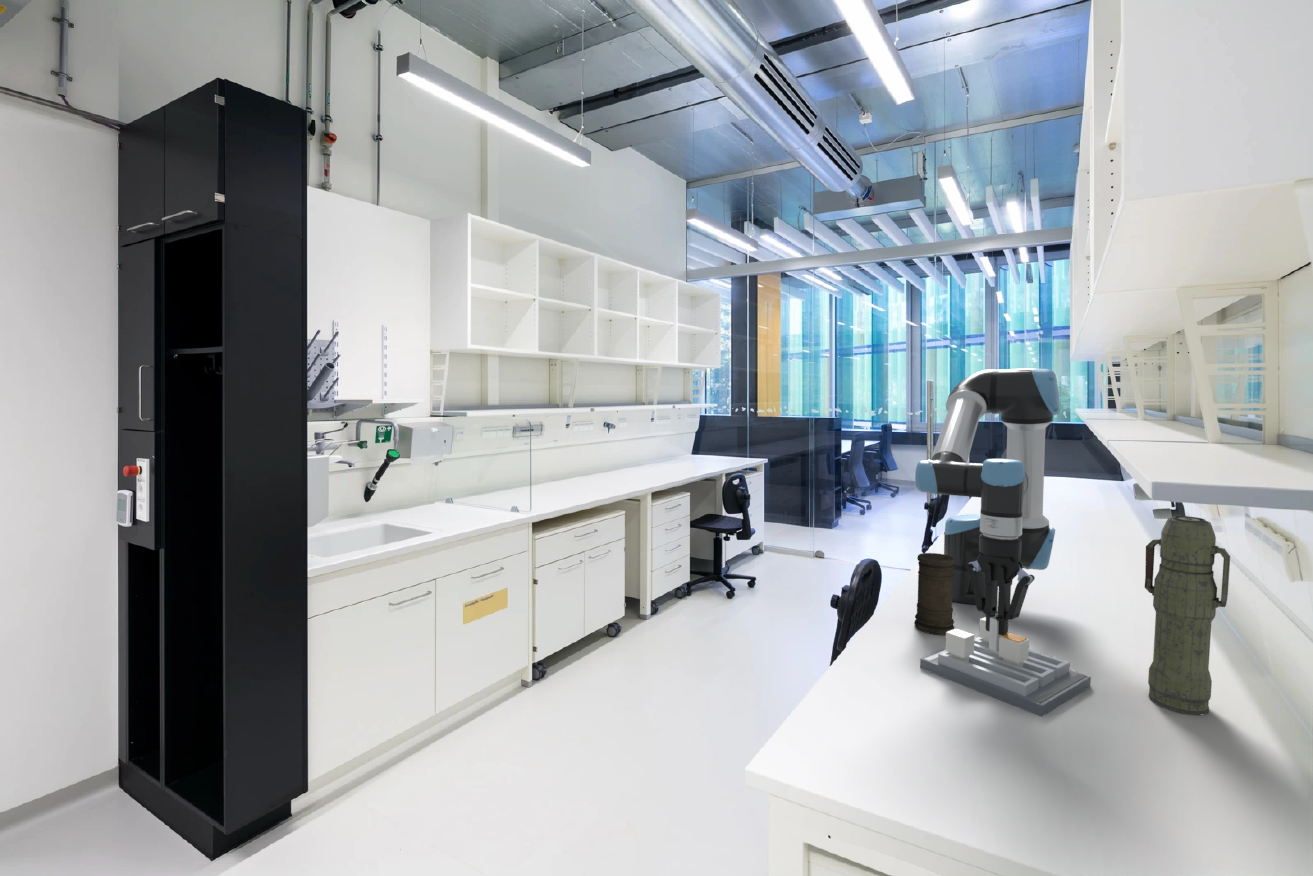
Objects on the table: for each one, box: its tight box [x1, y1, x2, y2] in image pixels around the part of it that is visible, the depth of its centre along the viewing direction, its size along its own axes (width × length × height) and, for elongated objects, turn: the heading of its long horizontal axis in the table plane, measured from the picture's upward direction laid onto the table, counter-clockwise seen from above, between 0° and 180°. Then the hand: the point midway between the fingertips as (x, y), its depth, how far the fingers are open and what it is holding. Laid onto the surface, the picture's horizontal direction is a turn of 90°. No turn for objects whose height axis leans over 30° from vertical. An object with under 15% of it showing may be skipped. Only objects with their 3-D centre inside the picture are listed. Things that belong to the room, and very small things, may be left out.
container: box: [913, 552, 956, 636], centre depth 152 cm, size 9×9×18 cm
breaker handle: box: [999, 632, 1030, 667], centre depth 125 cm, size 4×4×7 cm
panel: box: [919, 616, 1092, 717], centre depth 126 cm, size 20×24×9 cm
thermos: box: [1144, 515, 1231, 716], centre depth 115 cm, size 9×12×35 cm
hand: (995, 648), depth 127 cm, fingers closed
